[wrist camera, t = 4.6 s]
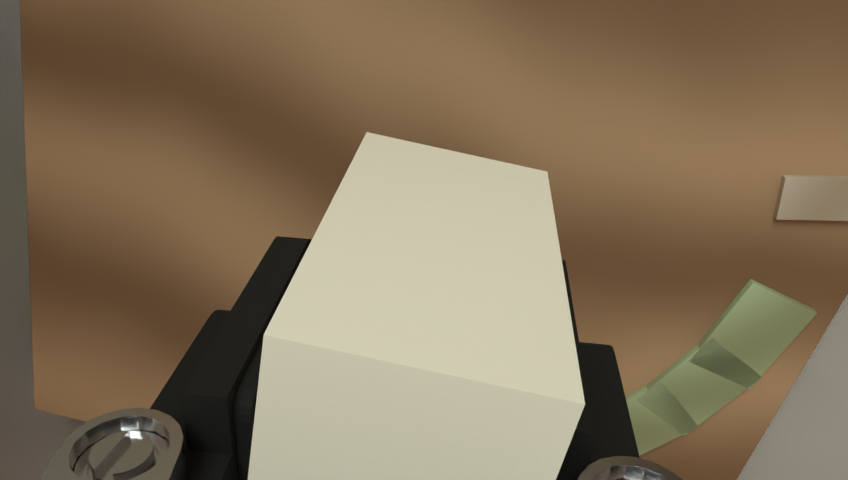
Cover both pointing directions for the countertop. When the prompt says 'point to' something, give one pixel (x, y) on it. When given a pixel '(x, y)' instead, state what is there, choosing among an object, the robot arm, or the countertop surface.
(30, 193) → the dial board
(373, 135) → the cream box
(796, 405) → the countertop surface
